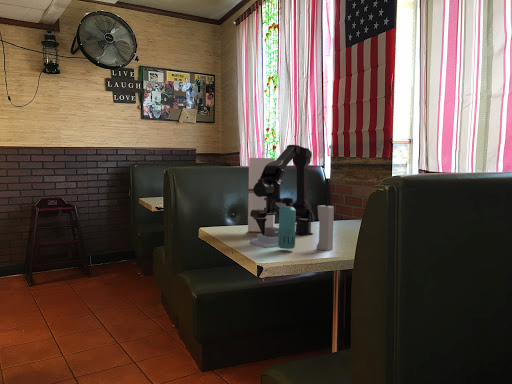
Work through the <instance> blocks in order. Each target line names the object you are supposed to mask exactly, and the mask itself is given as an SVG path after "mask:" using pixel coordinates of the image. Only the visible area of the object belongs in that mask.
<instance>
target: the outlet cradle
mask: <svg viewBox="0 0 512 384" xmlns="http://www.w3.org/2000/svg"><path fill="white" fill-rule="evenodd" d="M278 240H279V236H277V237H269V236H265V234H264V235H262V234H257V236H256V239H249V243H250V244H252V245H256V246H258V247H259V246H260V247H262V246H263V248H266V249H268V248H269V249H271V248H277V247H278V248H279V246H278Z"/></svg>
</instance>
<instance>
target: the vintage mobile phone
mask: <svg viewBox="0 0 512 384" xmlns="http://www.w3.org/2000/svg"><path fill="white" fill-rule="evenodd" d="M334 213H335V207H334V205H329V184H326V199H325V204H324V205H317V219H318V223H319V224H318V225H319V227H318V242H317V244H316V249H317V250H320V251H327V252H328V251H332V250H333V249H334V245H333V244H334V220H335V219H334Z"/></svg>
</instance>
